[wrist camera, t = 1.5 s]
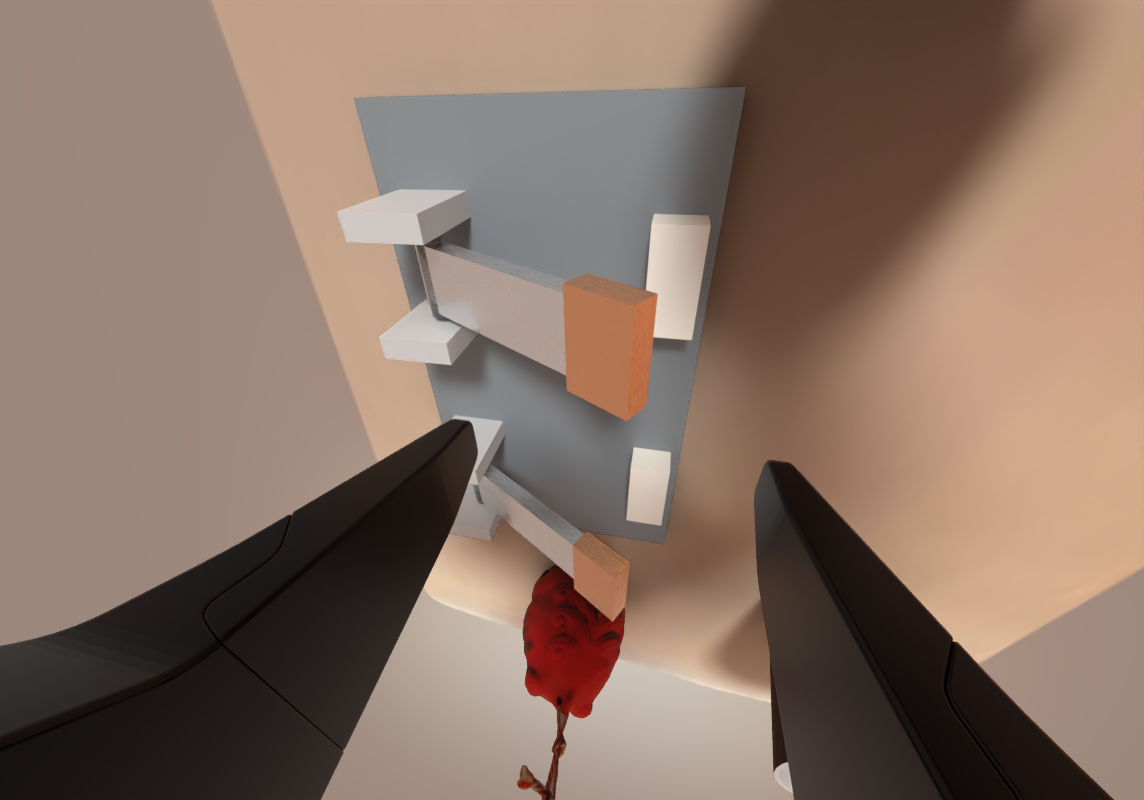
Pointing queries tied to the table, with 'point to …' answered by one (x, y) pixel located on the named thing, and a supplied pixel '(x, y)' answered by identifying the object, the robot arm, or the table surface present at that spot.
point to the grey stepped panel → (557, 272)
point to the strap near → (550, 320)
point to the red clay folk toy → (566, 657)
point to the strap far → (559, 542)
